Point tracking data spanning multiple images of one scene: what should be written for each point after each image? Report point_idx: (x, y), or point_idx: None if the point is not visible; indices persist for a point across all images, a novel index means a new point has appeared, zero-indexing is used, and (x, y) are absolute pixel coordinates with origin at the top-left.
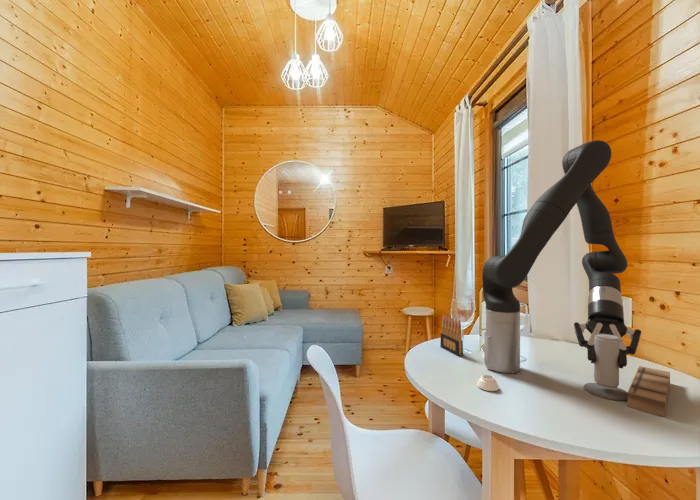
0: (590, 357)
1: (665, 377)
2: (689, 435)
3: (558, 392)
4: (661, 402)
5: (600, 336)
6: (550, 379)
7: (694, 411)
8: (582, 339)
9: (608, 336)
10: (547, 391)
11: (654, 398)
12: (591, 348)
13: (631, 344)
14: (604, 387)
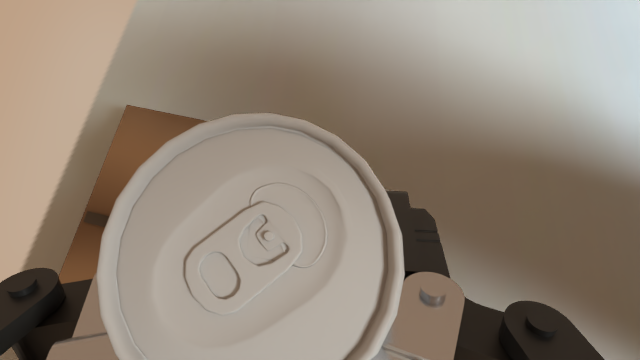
0: (411, 208)
1: None
2: (135, 27)
3: (511, 143)
4: (139, 109)
5: (331, 222)
6: (576, 311)
7: (29, 251)
8: (536, 320)
9: (219, 288)
10: (555, 127)
11: (152, 128)
12: (414, 251)
13: (7, 315)
14: None
